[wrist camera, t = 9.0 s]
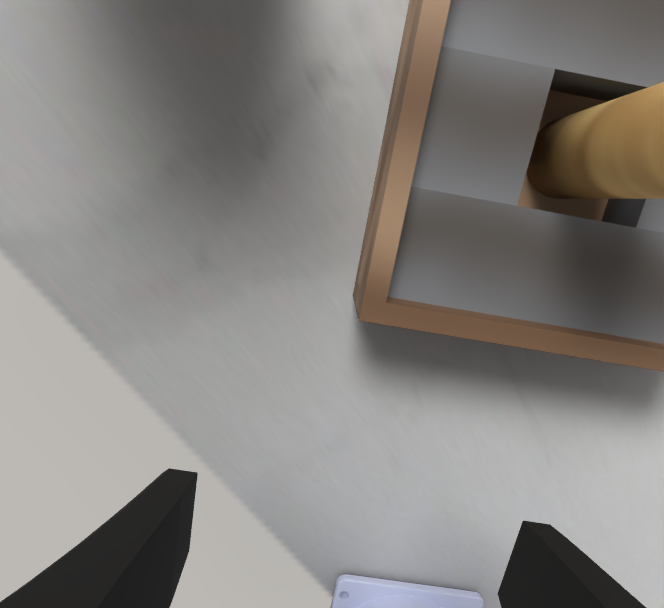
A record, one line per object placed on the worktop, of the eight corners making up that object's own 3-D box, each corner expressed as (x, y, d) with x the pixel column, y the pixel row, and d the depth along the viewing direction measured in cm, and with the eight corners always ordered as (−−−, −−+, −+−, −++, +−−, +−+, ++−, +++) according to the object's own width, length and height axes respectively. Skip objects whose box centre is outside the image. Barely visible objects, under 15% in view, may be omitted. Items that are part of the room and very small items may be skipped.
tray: (651, 345, 19) (734, 383, 15) (352, 294, 18) (359, 320, 14) (785, 0, 15) (936, -65, 12) (424, -77, 15) (457, -174, 11)
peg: (591, 203, 16) (825, 207, 9) (517, 193, 16) (688, 188, 8) (613, 122, 16) (892, 47, 8) (536, 111, 15) (742, 24, 8)
